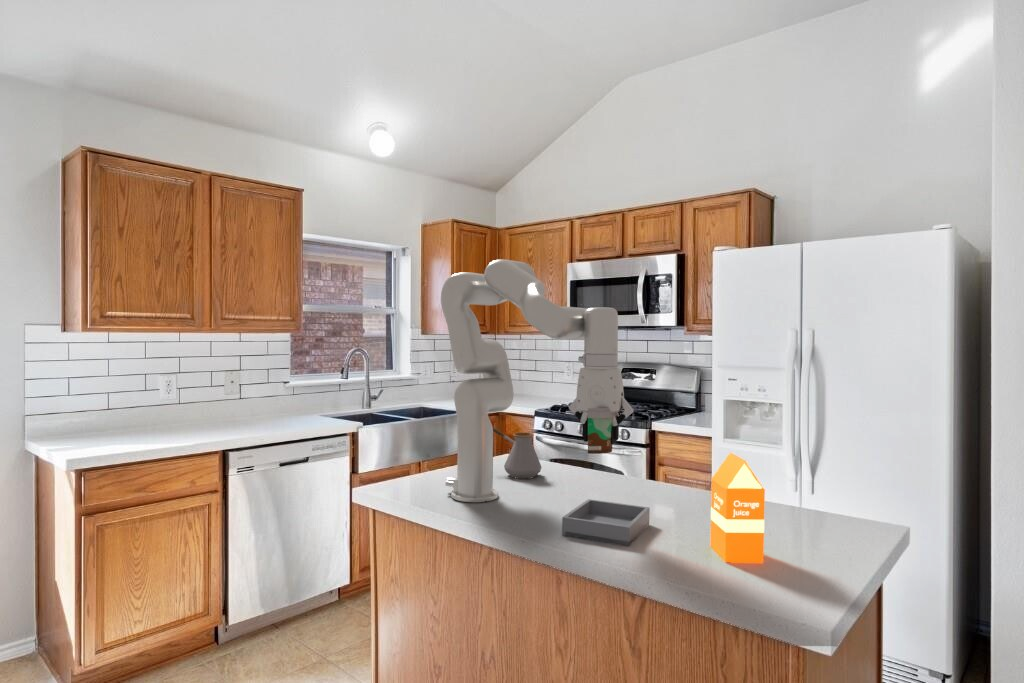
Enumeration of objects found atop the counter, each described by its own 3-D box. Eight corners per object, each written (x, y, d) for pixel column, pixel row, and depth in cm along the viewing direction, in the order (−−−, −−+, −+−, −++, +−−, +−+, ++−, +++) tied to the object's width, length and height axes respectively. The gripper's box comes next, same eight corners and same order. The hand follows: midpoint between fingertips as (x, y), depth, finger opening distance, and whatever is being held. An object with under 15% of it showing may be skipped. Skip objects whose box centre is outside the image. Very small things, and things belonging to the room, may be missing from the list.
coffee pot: (548, 475, 196) (549, 427, 196) (527, 482, 187) (528, 431, 187) (493, 466, 209) (493, 420, 208) (471, 472, 199) (471, 424, 199)
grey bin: (562, 535, 139) (562, 517, 139) (588, 515, 154) (588, 499, 154) (629, 546, 133) (629, 527, 132) (649, 524, 148) (649, 507, 148)
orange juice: (746, 547, 133) (748, 452, 133) (764, 563, 124) (766, 461, 124) (709, 547, 133) (711, 452, 132) (724, 563, 124) (726, 461, 124)
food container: (615, 456, 137) (616, 409, 137) (587, 454, 138) (587, 408, 138) (618, 447, 149) (619, 404, 149) (592, 446, 150) (593, 403, 150)
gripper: (559, 361, 144) (558, 441, 144) (633, 363, 136) (632, 447, 137) (571, 360, 151) (570, 436, 151) (642, 362, 143) (642, 442, 143)
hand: (600, 441), depth 144 cm, fingers closed on food container, 5 cm apart
